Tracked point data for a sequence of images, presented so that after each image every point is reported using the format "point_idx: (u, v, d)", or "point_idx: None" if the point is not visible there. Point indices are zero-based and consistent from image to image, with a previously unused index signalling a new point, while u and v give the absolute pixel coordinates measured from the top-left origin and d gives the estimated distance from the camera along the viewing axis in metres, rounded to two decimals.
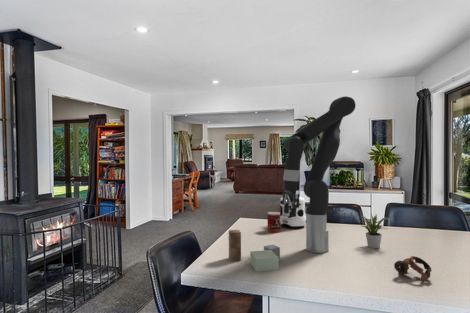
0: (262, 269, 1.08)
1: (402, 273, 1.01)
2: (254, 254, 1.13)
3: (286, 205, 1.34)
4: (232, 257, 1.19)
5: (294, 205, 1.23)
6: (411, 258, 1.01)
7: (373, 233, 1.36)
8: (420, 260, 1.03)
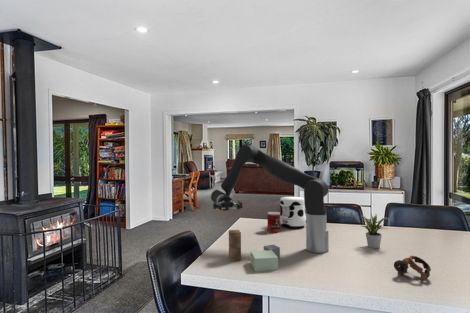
0: (261, 269, 1.08)
1: (402, 272, 1.02)
2: (254, 254, 1.13)
3: None
4: (232, 257, 1.19)
5: (213, 208, 1.36)
6: (410, 258, 1.02)
7: (373, 233, 1.36)
8: (419, 259, 1.03)
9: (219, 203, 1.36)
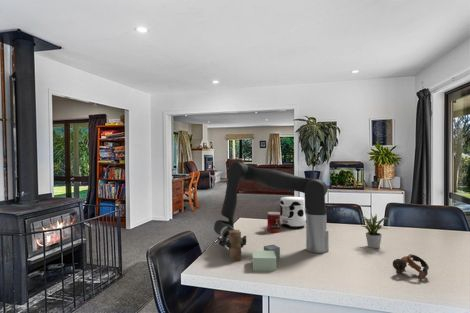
0: (259, 269, 1.09)
1: (400, 271, 1.03)
2: (254, 253, 1.14)
3: None
4: (232, 257, 1.19)
5: (221, 245, 1.23)
6: (409, 256, 1.03)
7: (373, 233, 1.36)
8: (417, 258, 1.05)
9: (227, 239, 1.23)
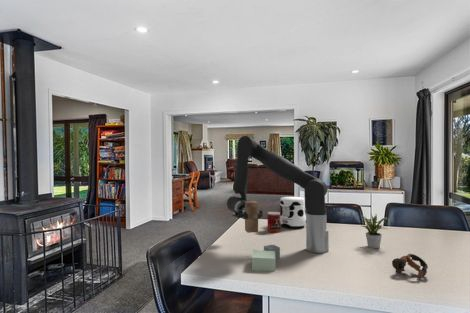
0: (258, 268, 1.09)
1: (400, 270, 1.04)
2: (254, 253, 1.14)
3: None
4: (249, 228, 1.14)
5: (237, 216, 1.18)
6: (408, 255, 1.04)
7: (373, 233, 1.36)
8: (416, 257, 1.06)
9: (243, 211, 1.19)
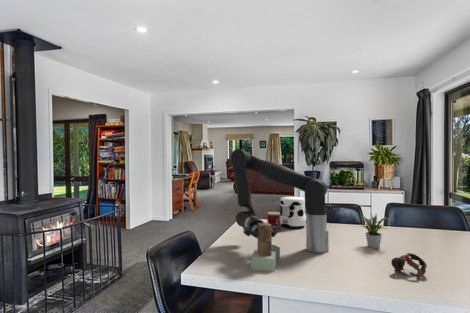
0: (257, 268, 1.09)
1: (399, 269, 1.04)
2: (254, 253, 1.14)
3: None
4: (262, 252, 1.11)
5: (247, 234, 1.15)
6: (407, 255, 1.05)
7: (373, 233, 1.36)
8: (415, 257, 1.06)
9: (253, 229, 1.16)
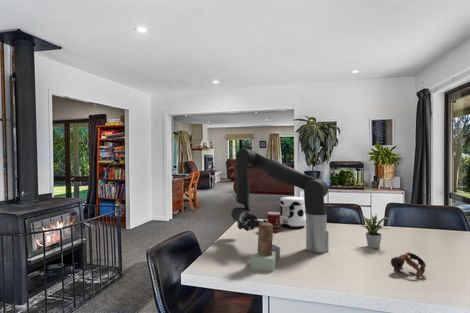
0: (257, 268, 1.09)
1: (398, 269, 1.05)
2: (254, 253, 1.15)
3: None
4: (263, 251, 1.11)
5: (239, 228, 1.26)
6: (406, 254, 1.05)
7: (373, 233, 1.36)
8: (415, 256, 1.07)
9: (245, 223, 1.27)
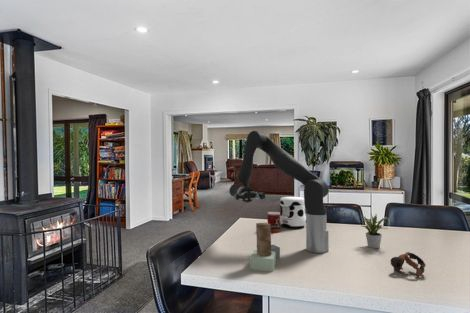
0: (256, 268, 1.09)
1: (398, 269, 1.05)
2: (254, 253, 1.15)
3: (259, 196, 1.33)
4: (262, 251, 1.11)
5: (236, 198, 1.33)
6: (406, 254, 1.06)
7: (373, 233, 1.36)
8: (414, 256, 1.07)
9: (242, 194, 1.33)
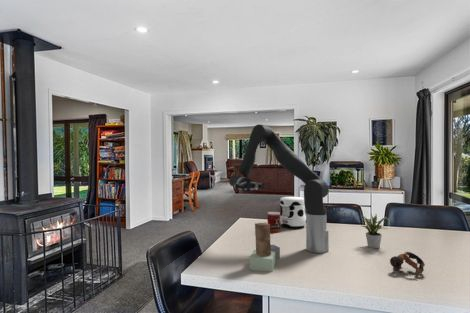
0: (255, 268, 1.09)
1: (397, 268, 1.06)
2: (253, 253, 1.15)
3: None
4: (262, 251, 1.11)
5: (235, 188, 1.34)
6: (405, 253, 1.06)
7: (373, 233, 1.36)
8: (413, 255, 1.08)
9: (241, 184, 1.35)
